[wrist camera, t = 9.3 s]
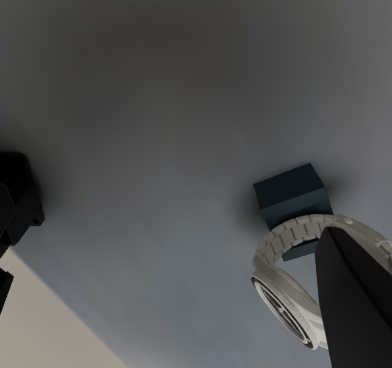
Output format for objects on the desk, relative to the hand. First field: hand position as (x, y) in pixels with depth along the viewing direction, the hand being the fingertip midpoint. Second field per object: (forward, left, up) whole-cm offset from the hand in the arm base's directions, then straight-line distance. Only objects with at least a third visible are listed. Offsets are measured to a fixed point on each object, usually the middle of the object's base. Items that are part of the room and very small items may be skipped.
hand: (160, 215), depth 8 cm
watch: (+9, -8, -13) cm, 17 cm away
